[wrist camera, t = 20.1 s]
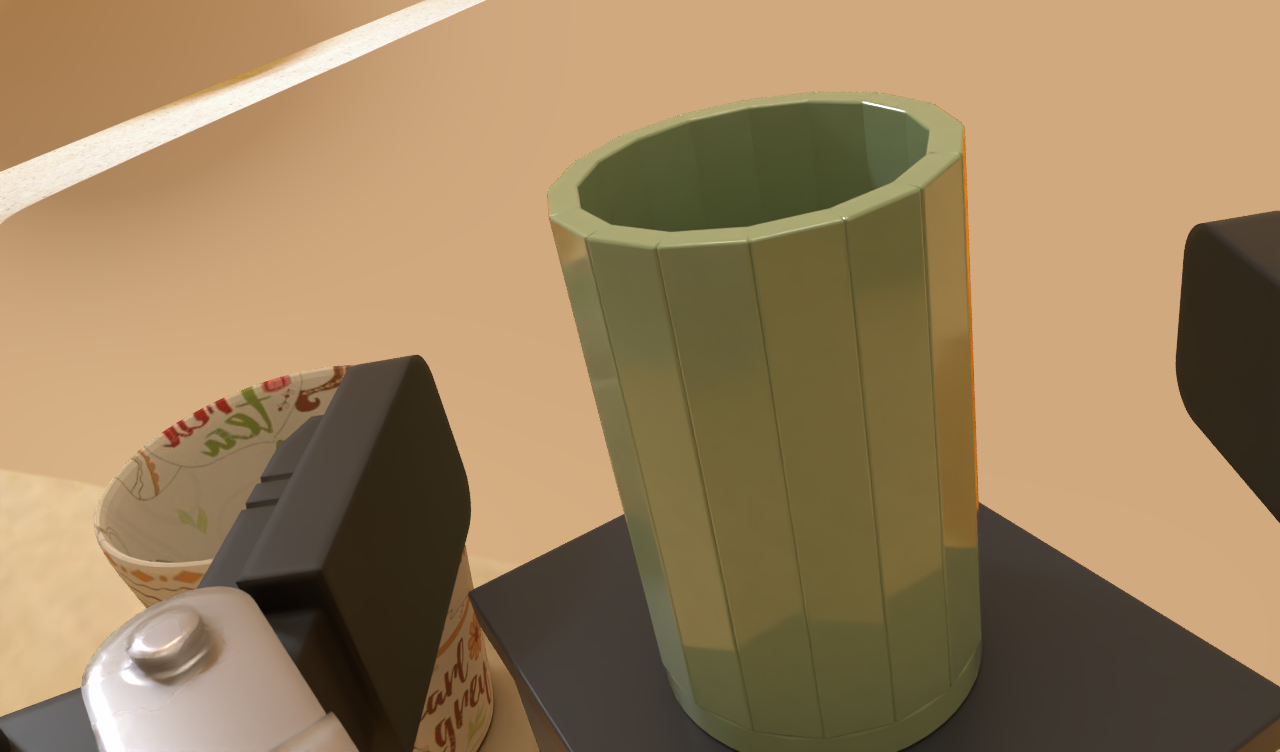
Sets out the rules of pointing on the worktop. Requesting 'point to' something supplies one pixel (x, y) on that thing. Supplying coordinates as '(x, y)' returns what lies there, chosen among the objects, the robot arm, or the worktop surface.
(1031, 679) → the container
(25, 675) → the worktop surface
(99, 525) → the mug
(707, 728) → the cup
